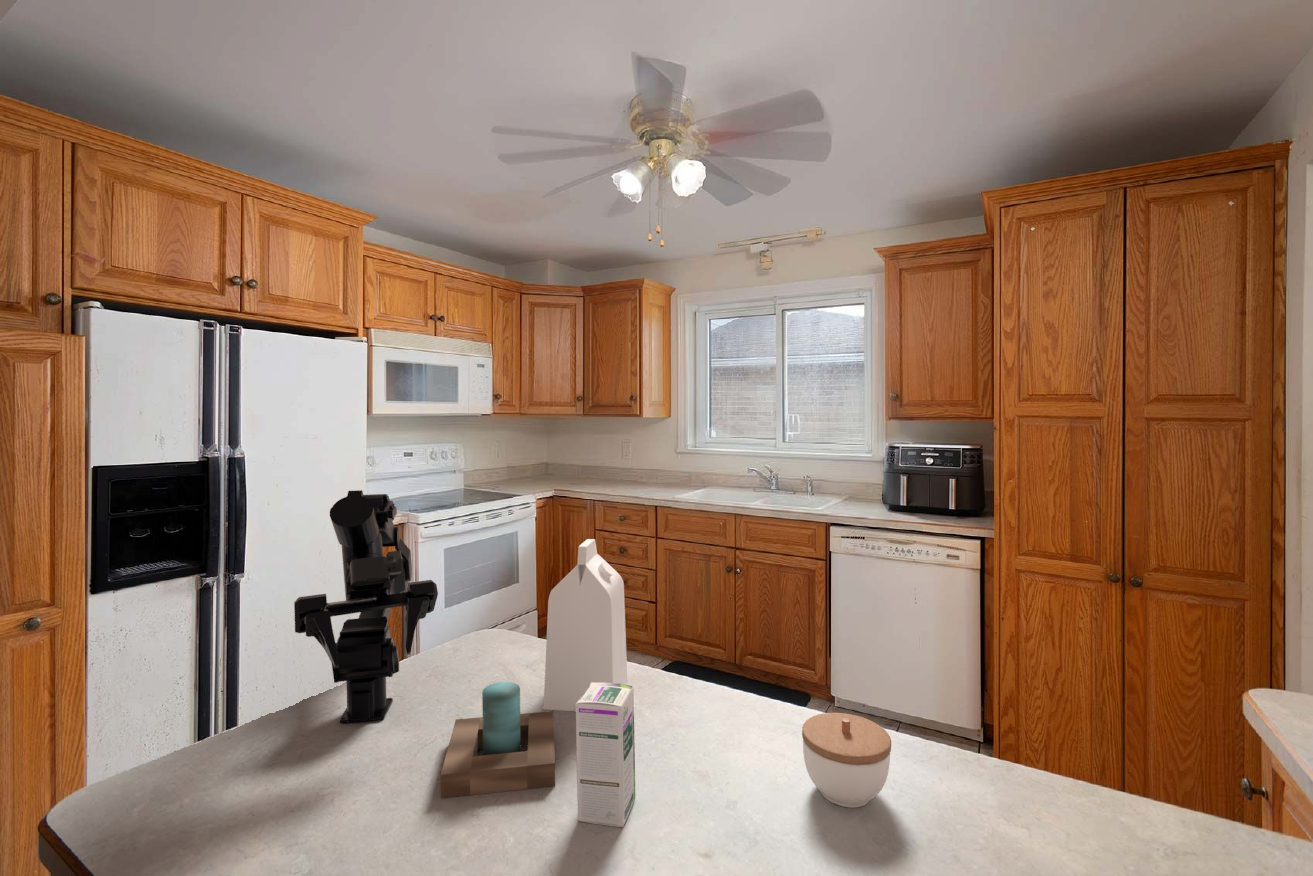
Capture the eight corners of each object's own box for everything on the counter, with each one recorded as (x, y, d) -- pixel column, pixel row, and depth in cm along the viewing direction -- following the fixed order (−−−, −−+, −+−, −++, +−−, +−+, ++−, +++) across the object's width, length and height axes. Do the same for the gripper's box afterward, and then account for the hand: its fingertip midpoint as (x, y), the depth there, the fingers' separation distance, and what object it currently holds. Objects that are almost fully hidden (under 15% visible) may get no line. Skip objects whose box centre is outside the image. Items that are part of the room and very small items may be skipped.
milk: (564, 677, 112) (563, 534, 111) (627, 681, 111) (627, 536, 110) (543, 709, 100) (542, 549, 99) (613, 714, 99) (613, 552, 98)
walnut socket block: (456, 739, 91) (455, 719, 91) (552, 730, 94) (552, 711, 94) (441, 798, 77) (440, 774, 77) (555, 785, 80) (554, 763, 80)
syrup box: (624, 829, 72) (624, 705, 71) (575, 822, 73) (574, 701, 72) (635, 798, 77) (635, 684, 77) (590, 792, 79) (589, 680, 78)
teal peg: (476, 761, 85) (475, 690, 85) (507, 747, 89) (506, 678, 89) (496, 776, 82) (495, 702, 82) (528, 760, 86) (527, 689, 85)
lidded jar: (889, 777, 82) (890, 707, 82) (891, 829, 72) (892, 749, 71) (805, 762, 86) (806, 695, 85) (796, 809, 75) (797, 733, 75)
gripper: (292, 540, 85) (295, 645, 76) (434, 527, 95) (451, 619, 86) (293, 583, 93) (296, 684, 84) (425, 567, 102) (440, 656, 93)
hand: (373, 659), depth 86 cm, fingers open, 9 cm apart
